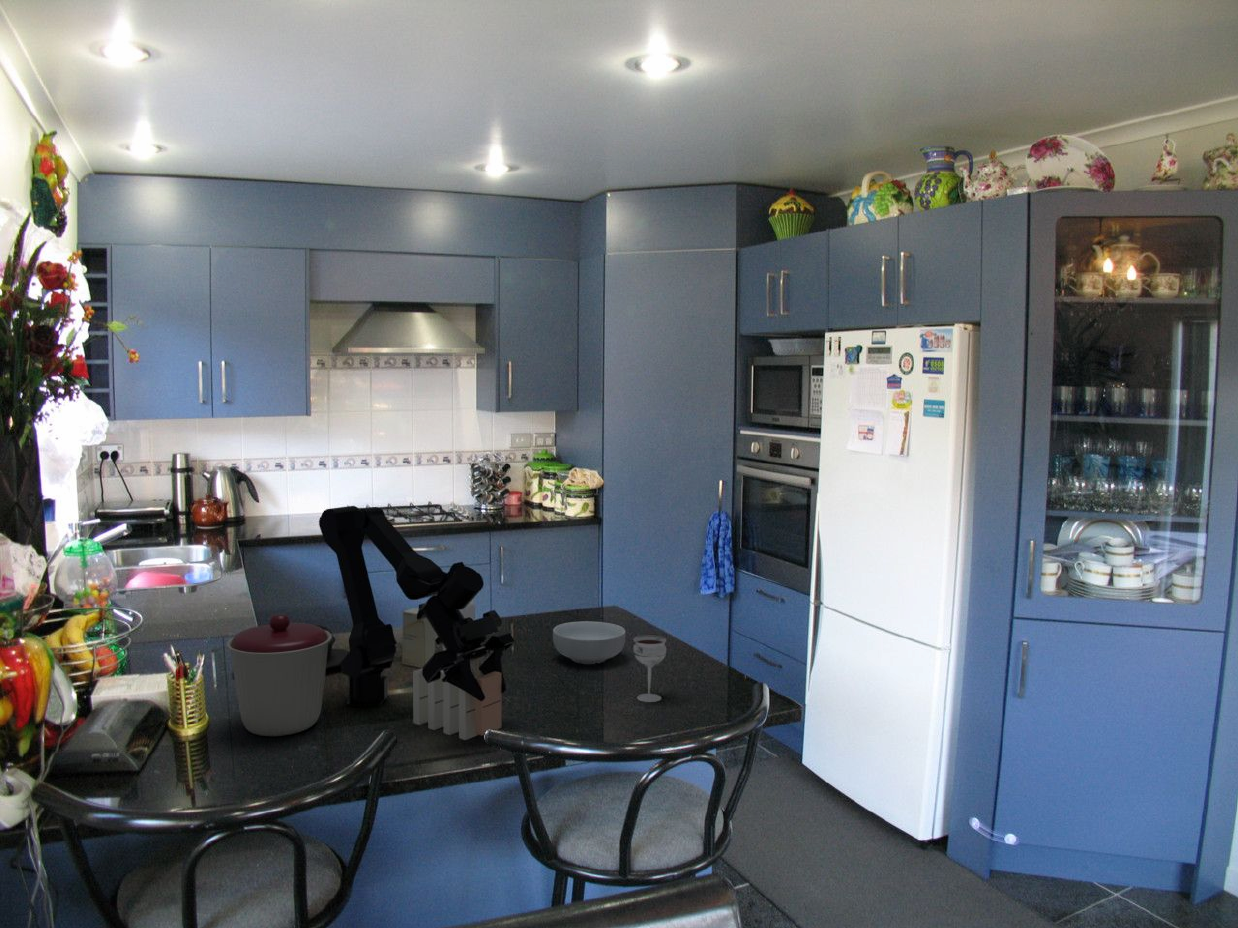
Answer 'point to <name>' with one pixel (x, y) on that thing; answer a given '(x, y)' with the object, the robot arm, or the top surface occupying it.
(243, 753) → the top surface
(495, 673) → the domino
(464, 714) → the domino
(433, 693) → the domino
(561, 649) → the cereal bowl
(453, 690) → the domino
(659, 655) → the wineglass
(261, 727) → the canister
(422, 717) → the domino
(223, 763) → the top surface
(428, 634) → the skincare box
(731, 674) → the top surface
